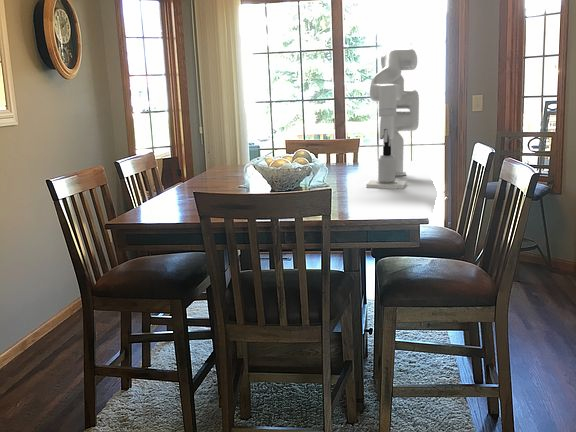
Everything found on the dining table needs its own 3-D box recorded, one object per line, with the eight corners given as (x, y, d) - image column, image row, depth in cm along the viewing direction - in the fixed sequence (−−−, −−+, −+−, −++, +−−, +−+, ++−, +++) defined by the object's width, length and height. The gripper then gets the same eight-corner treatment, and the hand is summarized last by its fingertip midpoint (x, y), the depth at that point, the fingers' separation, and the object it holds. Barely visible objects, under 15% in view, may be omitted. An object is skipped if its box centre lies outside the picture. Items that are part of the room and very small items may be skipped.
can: (396, 183, 268) (396, 156, 265) (379, 183, 268) (379, 156, 266) (394, 181, 275) (394, 154, 273) (377, 181, 275) (377, 154, 273)
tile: (371, 183, 280) (371, 180, 280) (406, 184, 276) (406, 181, 275) (366, 187, 268) (366, 184, 268) (403, 188, 263) (403, 184, 263)
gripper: (381, 112, 274) (380, 153, 277) (376, 113, 260) (375, 156, 263) (398, 112, 272) (397, 154, 275) (394, 113, 258) (393, 157, 261)
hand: (387, 155), depth 269 cm, fingers closed
